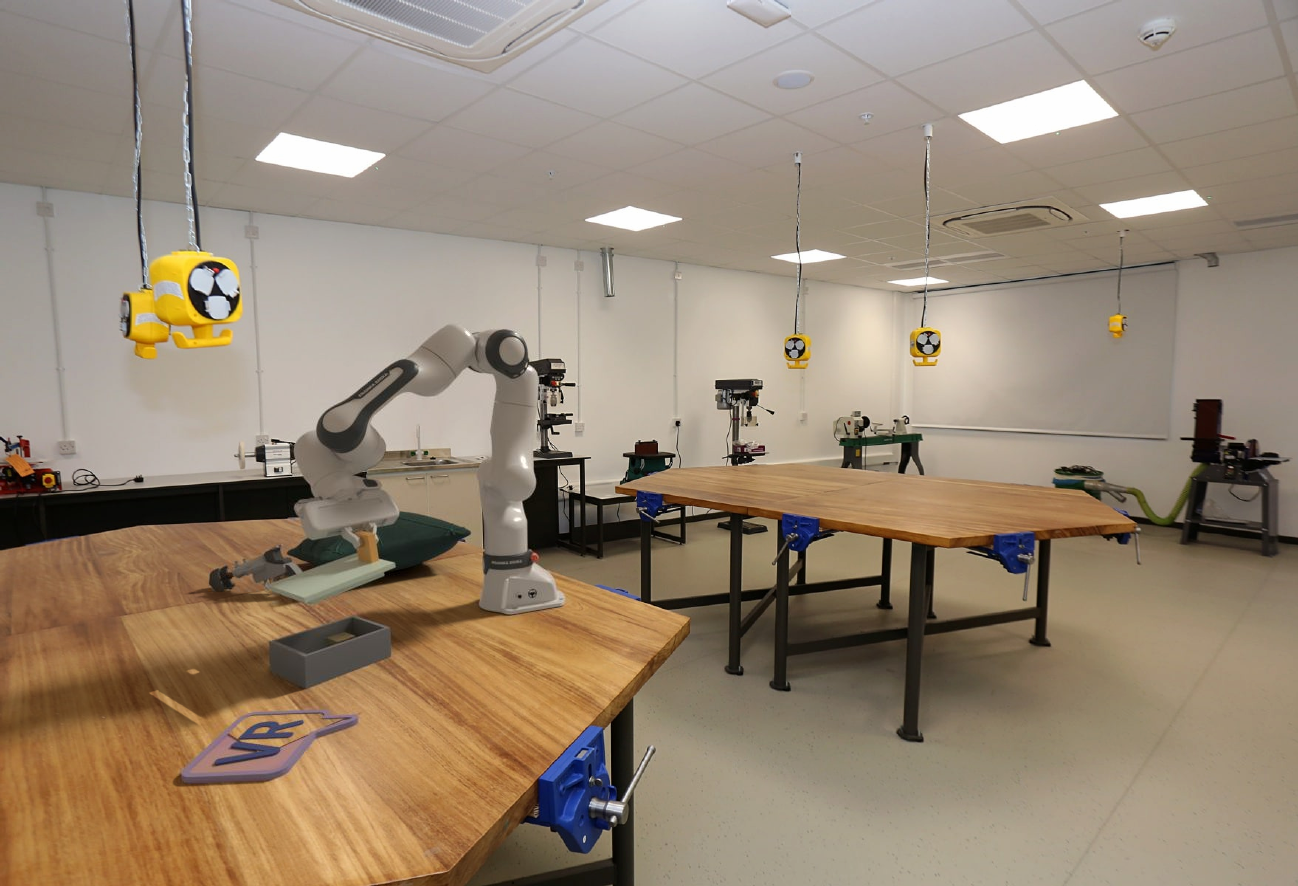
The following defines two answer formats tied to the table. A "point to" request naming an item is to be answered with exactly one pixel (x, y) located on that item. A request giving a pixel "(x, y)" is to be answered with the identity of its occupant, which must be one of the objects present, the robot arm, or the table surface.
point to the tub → (329, 651)
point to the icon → (242, 760)
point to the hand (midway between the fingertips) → (367, 544)
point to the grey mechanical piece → (255, 570)
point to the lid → (335, 574)
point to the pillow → (390, 542)
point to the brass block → (338, 638)
